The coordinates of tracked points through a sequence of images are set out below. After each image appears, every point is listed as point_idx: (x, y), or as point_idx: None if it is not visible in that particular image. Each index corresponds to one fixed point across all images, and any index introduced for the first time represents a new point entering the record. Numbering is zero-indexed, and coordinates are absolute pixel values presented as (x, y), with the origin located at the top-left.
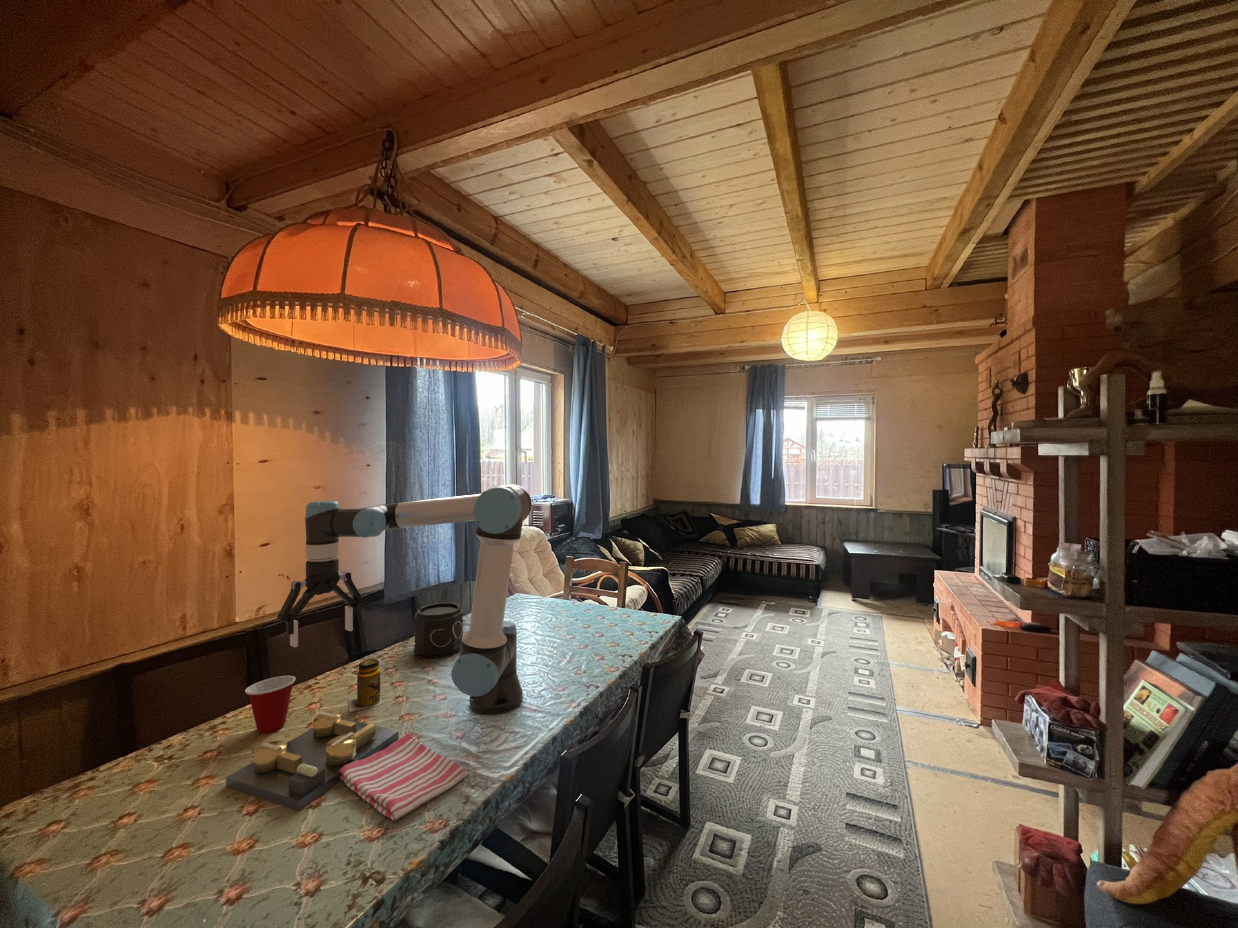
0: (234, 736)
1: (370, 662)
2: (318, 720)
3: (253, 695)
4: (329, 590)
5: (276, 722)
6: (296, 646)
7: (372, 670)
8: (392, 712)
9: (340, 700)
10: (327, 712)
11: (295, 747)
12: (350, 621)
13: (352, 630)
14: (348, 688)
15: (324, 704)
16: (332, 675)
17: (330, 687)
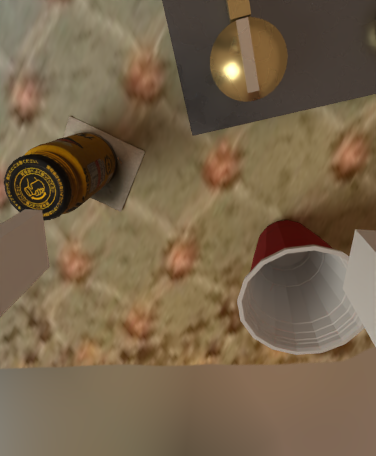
0: None
1: (31, 183)
2: (276, 60)
3: None
4: None
5: (292, 224)
6: (364, 231)
7: (45, 151)
8: (73, 44)
9: (130, 232)
10: (234, 88)
11: (335, 54)
12: (2, 233)
13: (26, 210)
14: (90, 273)
15: (162, 246)
16: (86, 361)
17: (115, 312)
